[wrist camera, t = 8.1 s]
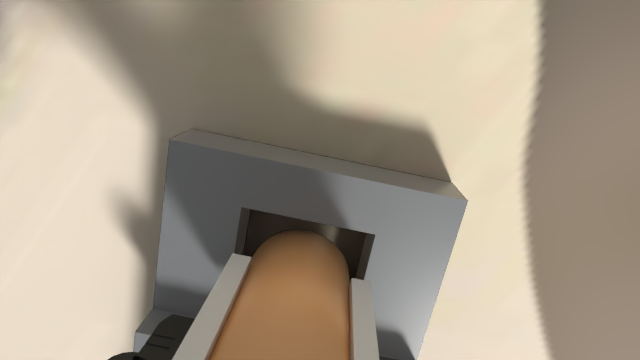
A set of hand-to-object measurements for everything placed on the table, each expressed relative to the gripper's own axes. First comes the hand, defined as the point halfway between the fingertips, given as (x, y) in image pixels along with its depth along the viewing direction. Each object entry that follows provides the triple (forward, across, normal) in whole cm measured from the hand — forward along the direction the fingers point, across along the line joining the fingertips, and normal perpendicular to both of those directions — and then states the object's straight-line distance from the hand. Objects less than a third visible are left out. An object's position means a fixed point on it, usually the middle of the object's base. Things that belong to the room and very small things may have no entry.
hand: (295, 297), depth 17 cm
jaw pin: (+2, 0, 0) cm, 2 cm away
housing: (+4, 0, -4) cm, 5 cm away
